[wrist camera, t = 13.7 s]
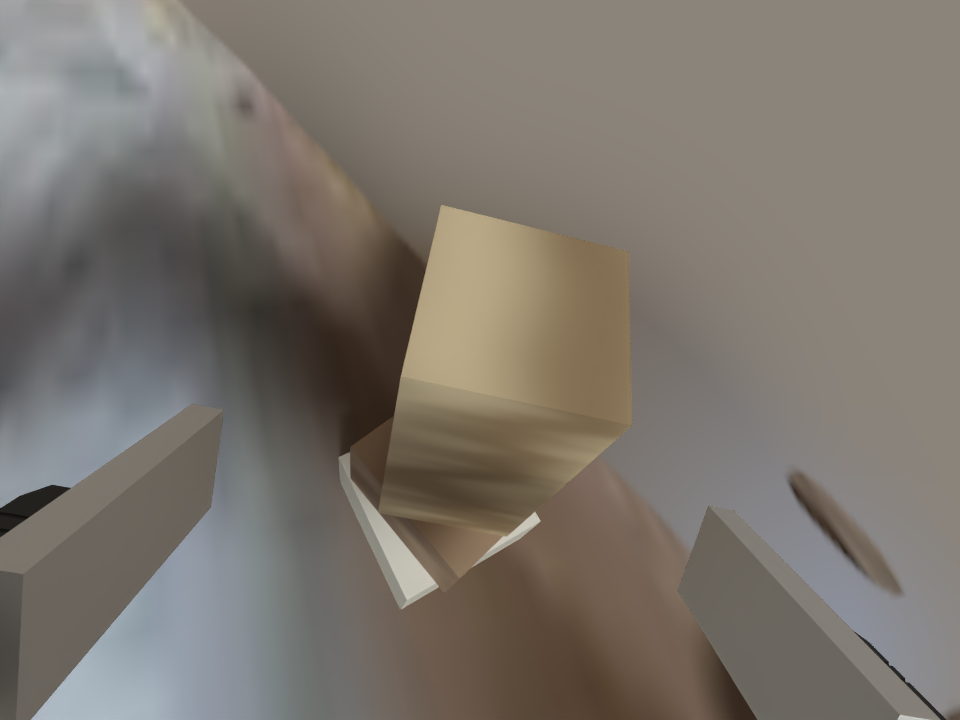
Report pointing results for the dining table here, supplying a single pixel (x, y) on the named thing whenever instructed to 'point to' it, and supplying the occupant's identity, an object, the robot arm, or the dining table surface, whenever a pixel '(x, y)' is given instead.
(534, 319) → the oak block
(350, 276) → the dining table surface
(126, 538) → the robot arm
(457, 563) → the walnut block
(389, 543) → the offwhite block
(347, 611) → the dining table surface
